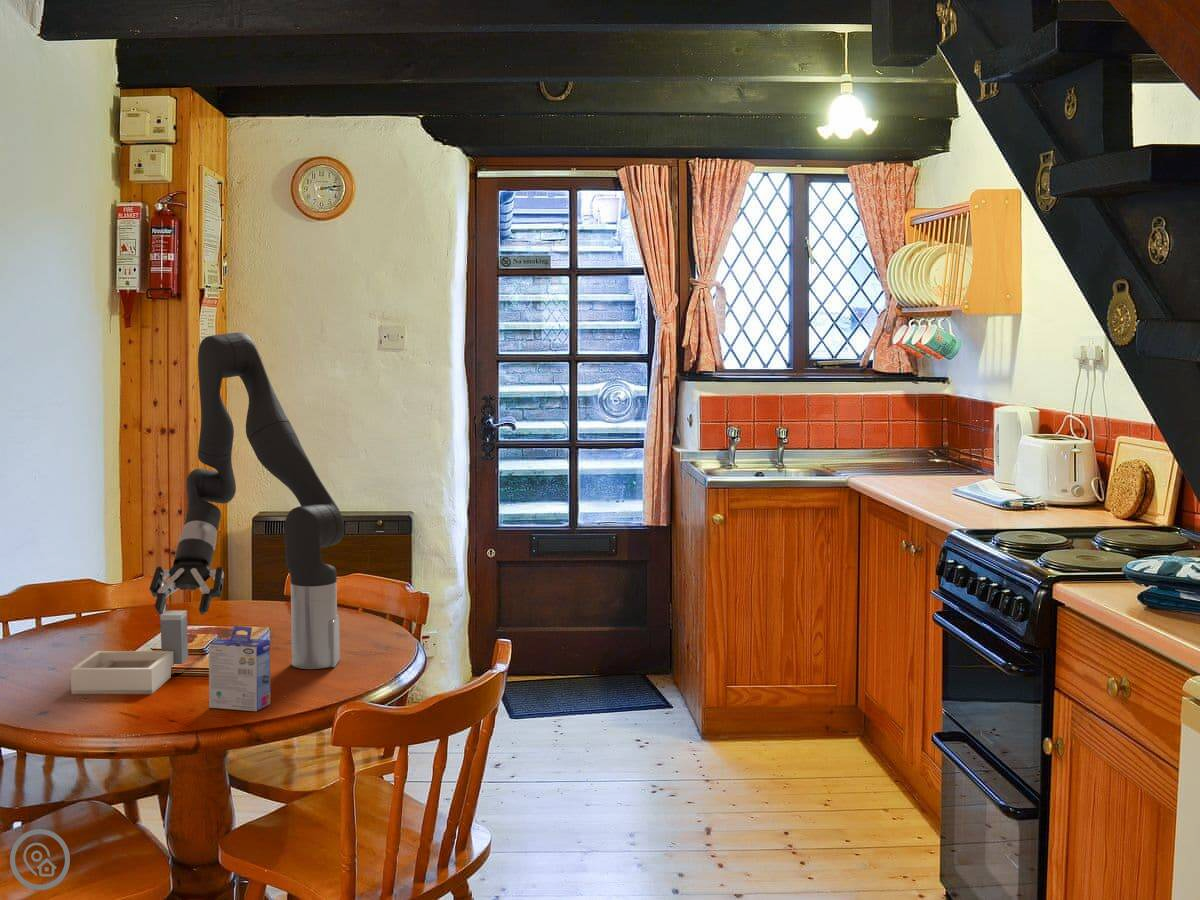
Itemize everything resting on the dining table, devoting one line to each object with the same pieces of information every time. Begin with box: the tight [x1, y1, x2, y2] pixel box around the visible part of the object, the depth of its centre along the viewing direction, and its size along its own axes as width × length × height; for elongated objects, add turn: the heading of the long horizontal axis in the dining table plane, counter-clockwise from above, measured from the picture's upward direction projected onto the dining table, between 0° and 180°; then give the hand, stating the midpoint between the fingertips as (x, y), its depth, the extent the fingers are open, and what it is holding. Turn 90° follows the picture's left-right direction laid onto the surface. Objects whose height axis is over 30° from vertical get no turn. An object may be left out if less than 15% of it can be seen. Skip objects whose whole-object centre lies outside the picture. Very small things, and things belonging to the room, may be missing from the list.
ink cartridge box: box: [208, 625, 272, 712], centre depth 219 cm, size 10×6×14 cm, turn 78°
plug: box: [159, 610, 189, 664], centre depth 242 cm, size 4×4×12 cm
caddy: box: [70, 650, 174, 695], centre depth 233 cm, size 15×13×5 cm
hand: (180, 612), depth 246 cm, fingers open, 8 cm apart
